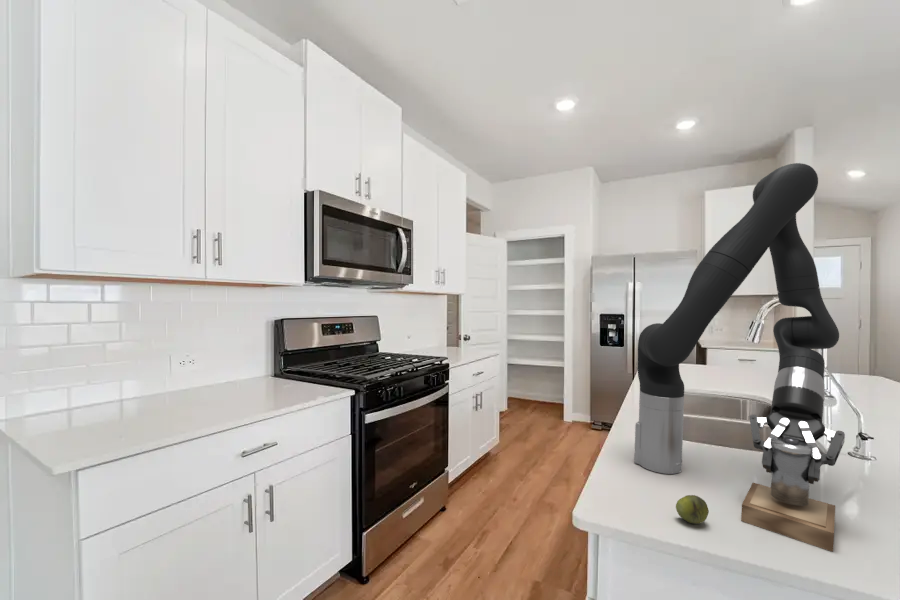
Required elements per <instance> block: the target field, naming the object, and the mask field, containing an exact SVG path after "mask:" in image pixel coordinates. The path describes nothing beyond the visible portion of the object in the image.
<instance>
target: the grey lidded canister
mask: <svg viewBox="0 0 900 600" xmlns="http://www.w3.org/2000/svg"><path fill="white" fill-rule="evenodd" d="M770 445H771V446H772V473H770V475H771V476H770V477H771V478H770V487H771V495H772V497H774V498H775V499H777V500H779V501H781V502H784V503H787V504H791V505H795V506H807V505H808V502H809V498H810V495H809V494H810V483H808V474H809V462H810V455H812V454H813V446H811V445H807V443H805V442H802V441H799V440H798V439H796V438H793V437H784V438H782V437H780V438H771V444H770Z"/></svg>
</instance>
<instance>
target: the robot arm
mask: <svg viewBox="0 0 900 600" xmlns="http://www.w3.org/2000/svg"><path fill="white" fill-rule="evenodd" d="M818 186H819V177H818V173H817V171H816V170H815V169H814V168H813V167H812V166H811V165H808V164H806V163H803V162H802V163H801V162H799V163H798V162H796V163H790V164H786V165H783V166H781V167H778V168H776V169H774V170H773V171H772V172H770V173H768V174H767V175H766V176H764V177H763V178H761V179H760V180H759V181H758V182H757V183H756V184H755V186H754V188H753V191H752V201H753V205H751V207H750V208H749V210H748V211H747V212H746V214H745V215H744V216H743V217H742V218H741V219H740V220H739V221H738V222H737V223H735V225H733V226H732V227H731V228H730V229H729V230H727V232H725V234H723V235H722V237H721V238H720V239H719V240H718V241H716V243H714V245H712V247H710V249H709V251H707V253H706V254H705V256H704V257H703V258H702V259H701V261H700V262H699V263H698V264H697V266H696V268H695V269H694V271H693V272H692V275H691V277H690V279H689V282H688V285H687V287H686V290H685V293H684V295H683V297H682V299H681V301H680V303H679V304H678V306H676V308H675V309H674V311H673V312H672V313H671V314H670V315H669V317H668V318H666V320H665V321H664V322H663V323H652V324H649V325H647V326H646V327H644V328H643V329H642V330H641V332H640V334H639V336H638V342H637V378H638V380H639V381H638V382H639V403H638V405H639V407H638V408H639V409H638V421H637V422H635V426H634V429H635V431H634V457H633V458H634V461H633V463H634V464H636V465H637V464H638V465H639V466H641V467H642V468H644V469H647V470H648V471H652V472H655V473H659V474H664V475H665V474H667V475H668V474H669V475H673V474H678V473H679V474H680V472H681V471H682V467H683V443H684V442H683V441H684V439H683V438H684V410H685V409H684V408H685V407H684V406H685V384H684V383H685V382H684V381H683V379H682V377H681V376H682V375H681V373H680V364H682V363H683V362H684V361H685V360H687V359H688V357H689V356H690V355H691V354H692V352H693V350H694V349H695V347H696V345H697V343H698V342H699V341H700V338H701V337H702V336H703V334H704V332H705V331H706V330H707V327H708V326H709V324H710V323H711V322H712V320H713V319H714V318H715V317H716V315H717V314H718V313H719V312H720V311H721V309H723V307H724V306H725V305H726V303H727V302H728V301H729V299H731V297H732V296H733V295H734V294H735V292H736V291H737V290H738V288H739V287H740V286H741V285H742V283H744V281H745V280H746V279H747V277H748V276H749V275H750V273H751V272H752V271H753V269H754V268H755V266H757V264H758V263H759V261H760V259H762V257H763V256H764V254H766V252H767V250H768V249H769V252H770V256H771V261H772V266H773V271H774V272H773V273H774V278H775V285H776V291H777V299H778V301H779V304H781V305H782V306H786V307H796V308H803V309H804V310H805V309H806V311H808V312H809V313H810V315H807V316H793V317H792V316H791V317H783V318H780V319H778V320H777V321H776V322H775V324H774V325H773V329H772V330H773V336H774V339H775V342H776V345H777V349H778V355H779V363H778V369H777V375H776V377H775V381H774V386H773V394H772V400H771V407H770V412H769V414H767V415H766V417H763V416H761V417H758V416H757V415H756V414H753V413H752V414H750V415H749V423H750V429H751V437H752V443H753V447H754V448H755V449H757V450H761V451H762V458H761V466H762V468H763V469H765V472H766V473H769V474H771V473H772V446H771V445H770V444H771V438H780V437H782V438H784V437H793V438H796V439H798V440H799V441H802V442H805V443H807V445H811V446H813V454H812V455H810V462H809V474H808V483H809V485H810V484H811V485H815V483H814V482H816V483H818V482H819V481H820V478H821V466H823V465H828V466H830V467H831V466H832V467H833V466H835V465H836V464H837V460H838V458H839V456H840V454H841V451H842V449H843V446H844V444H845V438H846V437H845V436H846V434H845V432H844V431H843V430H836V431H834V430H831V429H828V428H826V426H825V425H824V423H823V418H824V416H823V415H824V404H825V403H824V402H825V384H824V376H825V365H826V364H825V358H824V356H823V355H822V354H821V353H819V351H816V350H827V349H831V348H833V347H835V346H836V345H837V344H838V342H839V339H840V331H839V329H838V327H837V324H836V322H835V320H834V318H833V317H832V315H831V314H830V312H829V310H828V308H827V306H826V305H825V302H824V300H823V297H822V292H821V287H820V282H819V277H818V270H817V266H816V263H815V260H814V258H813V256H812V254H811V253H810V251H809V249H808V248H807V245H806V244H805V242H804V240H803V239H802V236H801V234H800V232H799V228H798V224H797V213H798V212H799V211H801V210H802V208H803V207H804V206H806V204H807V203H809V201H810V200H811V199H812V198H813V197H814V195H815V193H816V192H817V190H818ZM765 425H767V426H768V427H769V428H770V430H771V432H770V434H769V437H768V438H767V439H766V441H765V440H763V439H761V434H760V430H763V429H764V427H765ZM824 436H825V437H826V439H827V440H826V441H827V443H829V447H828V448H827V450H826V453H821V452H820V450H819V449H818V446H817V443H816V441H818V440H819V439H821V438H822V437H824Z"/></svg>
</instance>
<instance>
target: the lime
mask: <svg viewBox="0 0 900 600" xmlns="http://www.w3.org/2000/svg"><path fill="white" fill-rule="evenodd" d="M676 501H677V502H676V503H675V509H676V512H677V514H678V515H679V517H680V518H681V519H682V520H684V521H685V522H687V523H689V524H702V523H704V522H705V521H706V520H707V518H708V515H709V508H708V507H709V506H708V504H707V502H706V501H705V500H704V499H703V498H701V497H700V496H698V495H695V494H694V495H693V494H689V495H684V496H683V497H681V498H679V499H678V500H676Z"/></svg>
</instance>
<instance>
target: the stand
mask: <svg viewBox="0 0 900 600" xmlns="http://www.w3.org/2000/svg"><path fill="white" fill-rule="evenodd" d="M740 514H741V515H740V516H741V518H740V521H741V522H744V523H746V524H749V525H752V526H756V527H759V528H760V529H764V530H767V531H770V532H773V533H776V534H779V535H781V536H785V537H787V538H791V539H794V540H797V541H799V542H803V543H806V544H808V545H812V546H815V547H817V548H820V549H824V550H827V551H829V552H832V553H834V541H835V539H834V538H835V521H836V520H835V519H836V518H835V517H836V505H835V504H832V503H828V502H824V501H820V500H817V499H814V498H810V497H809V502H808V505H807V506H795V505H791V504H787V503H784V502H781V501H779V500H777V499H775V498H774V497H772V495H771V486H767V485H763V484H760V483H757V482H752V483H751V485H750V487H749V489H748V491H747V493H746V494H745V497H744V499H743V501H742V503H741V513H740Z"/></svg>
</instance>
